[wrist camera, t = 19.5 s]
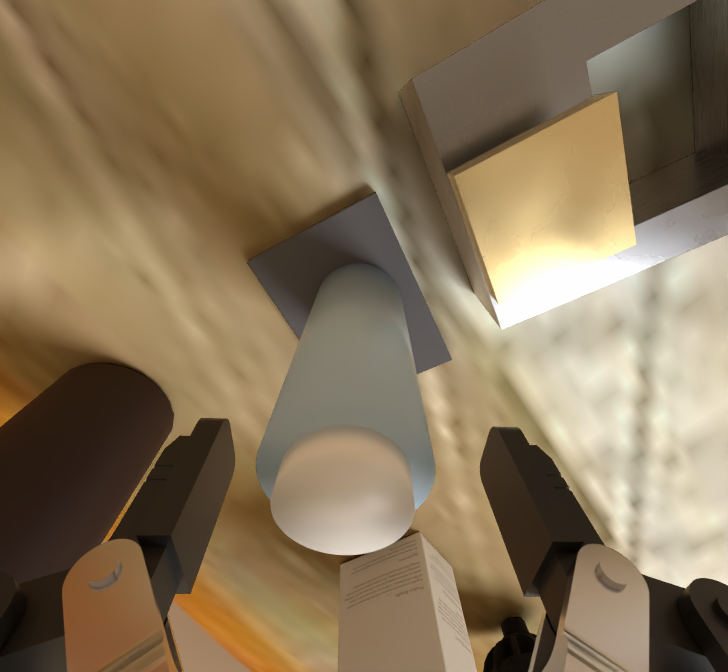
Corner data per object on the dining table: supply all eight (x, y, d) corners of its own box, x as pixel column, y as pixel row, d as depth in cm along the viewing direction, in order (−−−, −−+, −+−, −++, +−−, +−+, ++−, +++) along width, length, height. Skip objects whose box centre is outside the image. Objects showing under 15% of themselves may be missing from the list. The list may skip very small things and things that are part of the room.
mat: (375, 191, 17) (376, 193, 16) (449, 355, 21) (452, 359, 21) (249, 259, 18) (246, 262, 18) (344, 399, 22) (344, 404, 22)
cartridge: (317, 259, 18) (234, 426, 7) (406, 266, 18) (461, 443, 7) (315, 338, 20) (249, 563, 9) (396, 345, 20) (425, 575, 9)
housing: (852, -176, 12) (1068, -311, 8) (818, 140, 16) (948, 141, 12) (398, 92, 15) (412, 78, 11) (474, 294, 19) (501, 329, 16)
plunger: (535, 104, 14) (617, 91, 9) (560, 215, 16) (636, 244, 11) (425, 164, 14) (454, 176, 10) (462, 261, 16) (498, 304, 12)
